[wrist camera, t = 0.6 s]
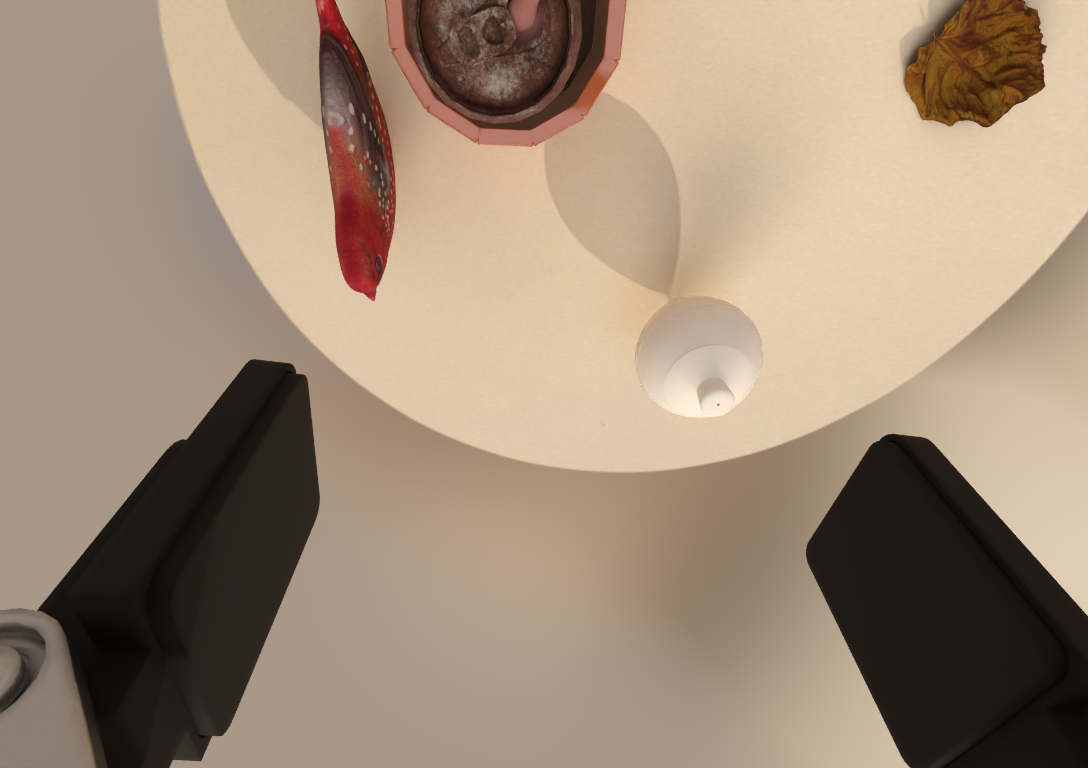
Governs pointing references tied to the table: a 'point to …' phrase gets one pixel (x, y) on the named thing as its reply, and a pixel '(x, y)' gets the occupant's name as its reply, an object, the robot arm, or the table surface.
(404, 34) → the pot
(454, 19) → the can
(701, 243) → the table surface
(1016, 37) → the leaf
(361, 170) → the decorative bird figurine
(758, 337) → the spinning top
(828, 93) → the table surface
